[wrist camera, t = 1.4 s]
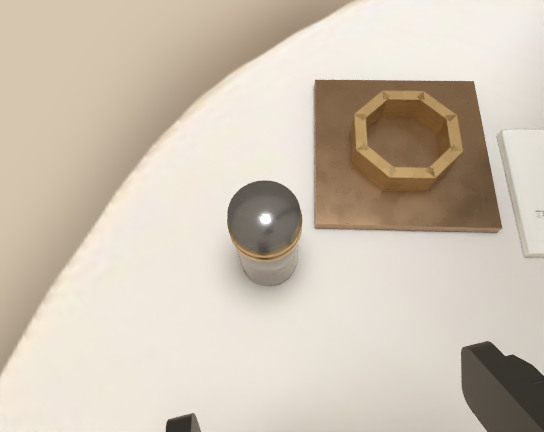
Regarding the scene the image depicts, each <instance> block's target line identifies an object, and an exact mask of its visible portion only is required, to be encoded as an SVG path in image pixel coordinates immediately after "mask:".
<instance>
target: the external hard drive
mask: <svg viewBox="0 0 544 432" xmlns="http://www.w3.org/2000/svg"><path fill="white" fill-rule="evenodd" d="M497 141H498V145H499V149H500V154H501V158H502V163H503V167H504V171H505V176H506V180H507V184H508V189H509V193H510V198H511V202H512V207H513V211H514V216H515V220H516V225H517V229H518V233H519V238H520V242H521V247H522V251H523V256H524V257H544V129H508V130H507V129H506V130H502V131H500V133H499V134H498V135H497Z"/></svg>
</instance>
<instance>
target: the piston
mask: <svg viewBox="0 0 544 432" xmlns="http://www.w3.org/2000/svg"><path fill="white" fill-rule="evenodd" d="M227 224H228V229H229V233H230V236H231V239H232V241H233V244H234V245H235V247H236V248H237V250H238V253H239V257H240V260H241V263H242V266H243V269H244V271H245V273H246V275H247V276H248V277H249V278H250V279H251V280H252V281H254V282H255V283H257V284H260V285H263V286H275V285H278V284H281V283H283V282H285V281H286V280H287V279H288V278H289V277H290V276H291V275H292V274H293V272H294V270H295V267H296V263H297V251H298V241H299V239H300V235H301V227H302V214H301V210H300V206H299V203H298V200H297V198H296V197H295V195H294V194H293V193H292V192H291V191H290V190H289V189H288V188H287V187H285V186H284V185H282V184H279V183H277V182H273V181H256V182H253V183H250V184H248V185H246V186H244V187H242V188H241V189H240V190H239V191H238V192H237V193H236V194H235V195H234V196H233V198H232V199H231V202H230V204H229V207H228V218H227Z"/></svg>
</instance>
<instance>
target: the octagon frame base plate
mask: <svg viewBox="0 0 544 432" xmlns="http://www.w3.org/2000/svg"><path fill="white" fill-rule="evenodd" d="M314 104H315V228H326V229H369V230H413V231H456V232H498V231H499V230H501V229H502V225H501V220H500V215H499V209H498V204H497V199H496V194H495V189H494V183H493V178H492V173H491V168H490V163H489V158H488V152H487V147H486V142H485V137H484V132H483V126H482V121H481V116H480V111H479V106H478V101H477V95H476V90H475V85H474V81H385V80H315V86H314Z"/></svg>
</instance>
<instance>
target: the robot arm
mask: <svg viewBox="0 0 544 432" xmlns="http://www.w3.org/2000/svg"><path fill="white" fill-rule="evenodd" d="M461 370H462V391H463V394H464V397H465V400H466V402H467V404H468V406H469V408H470V409H471V410H472V412H473V413H474V414H475V416H476V417H477V418H478V420H479V421H480V422H481V424H482V425H483V426H484V428H485V429H486V430H487V432H544V376H543V375H542V374H541V373H540V372H539V371H538V370H537V369H536V368H535V367H534V366H533V365H531V364H530V363H528V362H526V361H524V360H522V359H520V358H518V357H516V356H514V355H509V356H504V355H503V354H502V353H501V352H500V351H499V350H498V349H497V348H496V347H495V346H494V345H493V344H492V343H491V342H489V341H486V342H482V343H478V344H474V345H470V346H466V347H463V348H462V351H461ZM166 432H201V431H200V427H199V424H198V421H197V418H196V416H195V414H194V413H192V414H188V415H184V416H180V417H176V418H172V419H168V421H167V424H166Z"/></svg>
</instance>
